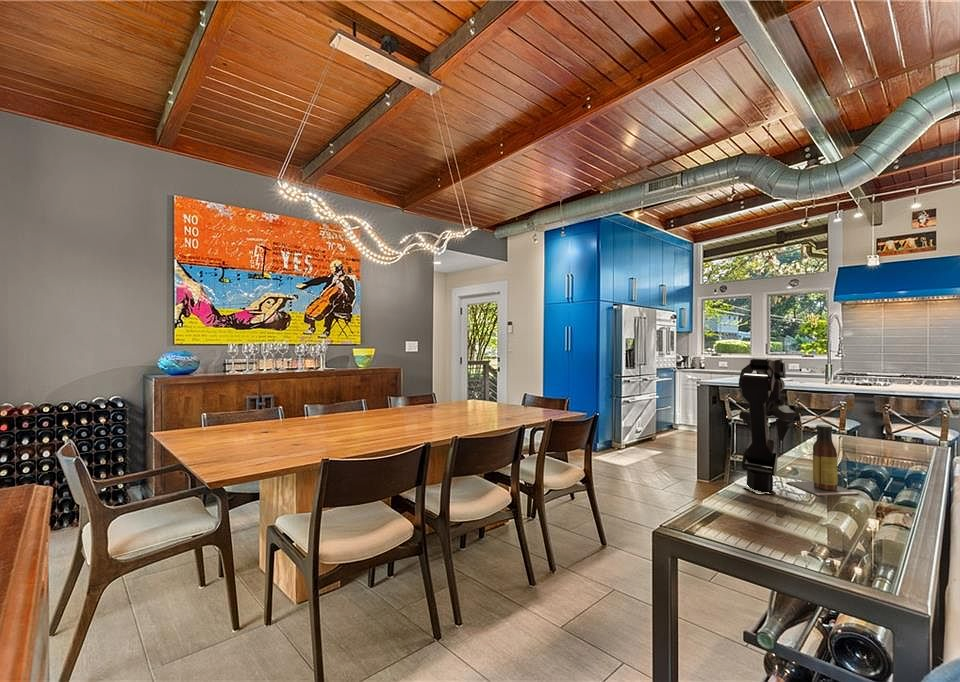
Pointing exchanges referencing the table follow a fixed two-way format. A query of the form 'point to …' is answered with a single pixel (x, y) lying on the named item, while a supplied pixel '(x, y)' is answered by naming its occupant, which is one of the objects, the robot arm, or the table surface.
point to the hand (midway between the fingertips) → (769, 441)
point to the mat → (810, 488)
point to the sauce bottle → (824, 459)
